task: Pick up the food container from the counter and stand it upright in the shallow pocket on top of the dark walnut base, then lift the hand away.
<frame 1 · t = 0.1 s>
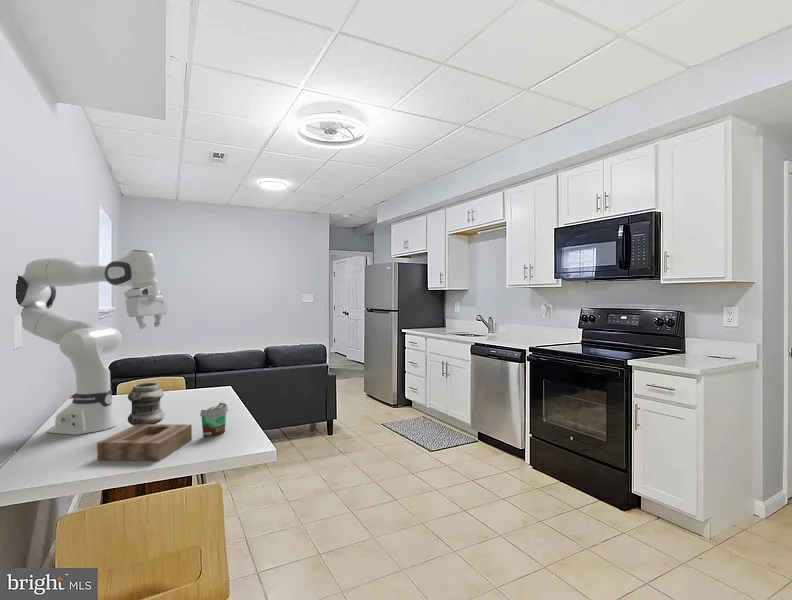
hand: (150, 327, 177), 39 cm above the table, tool pointing down, fingers open, 8 cm apart
apothecary jar: (146, 432, 173), on the table
walnut base: (147, 449, 153), on the table
food container: (218, 433, 170), on the table
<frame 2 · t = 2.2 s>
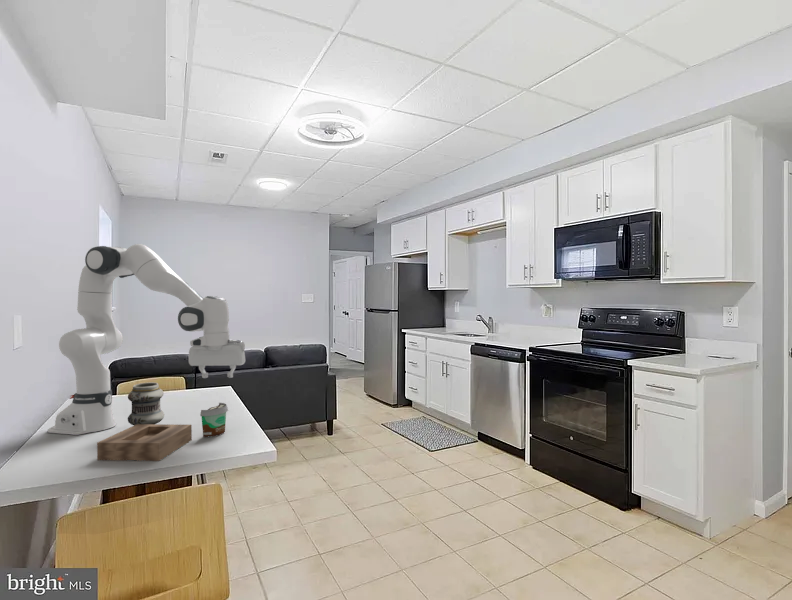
hand: (217, 377, 170), 21 cm above the table, tool pointing down, fingers open, 8 cm apart
nothing on the table moved.
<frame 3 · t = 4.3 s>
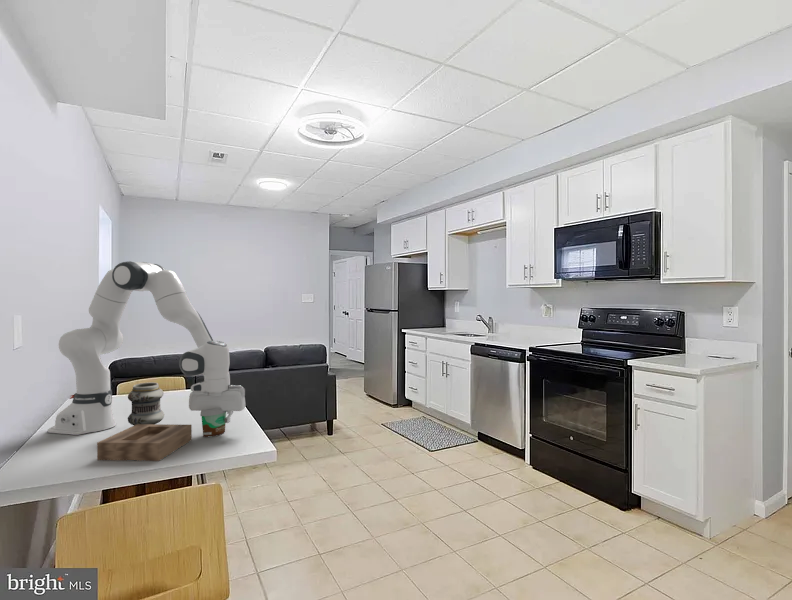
hand: (217, 422, 170), 4 cm above the table, tool pointing down, fingers open, 6 cm apart
food container: (218, 433, 170), on the table, touching gripper
everything else where it was.
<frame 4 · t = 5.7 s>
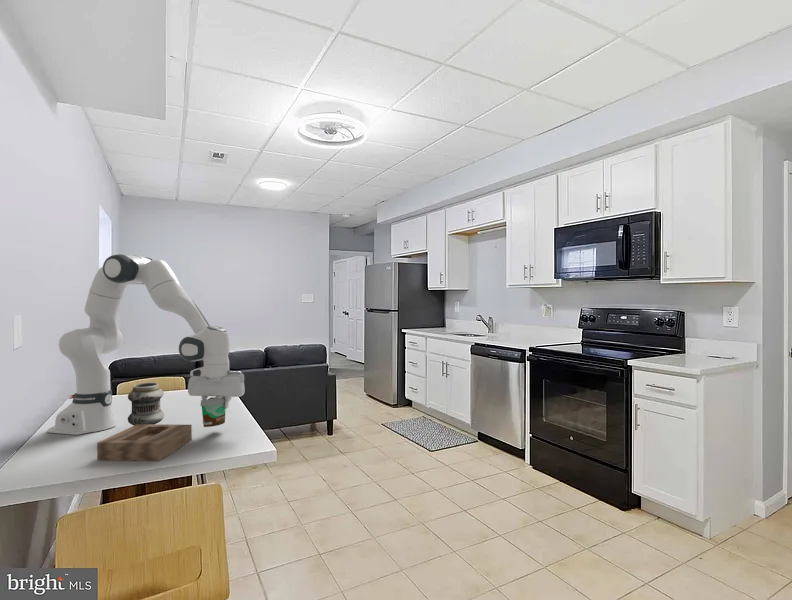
hand: (216, 408, 170), 9 cm above the table, tool pointing down, fingers closed on food container, 5 cm apart
food container: (218, 424, 170), point 3 cm above the table, touching gripper
everything else where it was.
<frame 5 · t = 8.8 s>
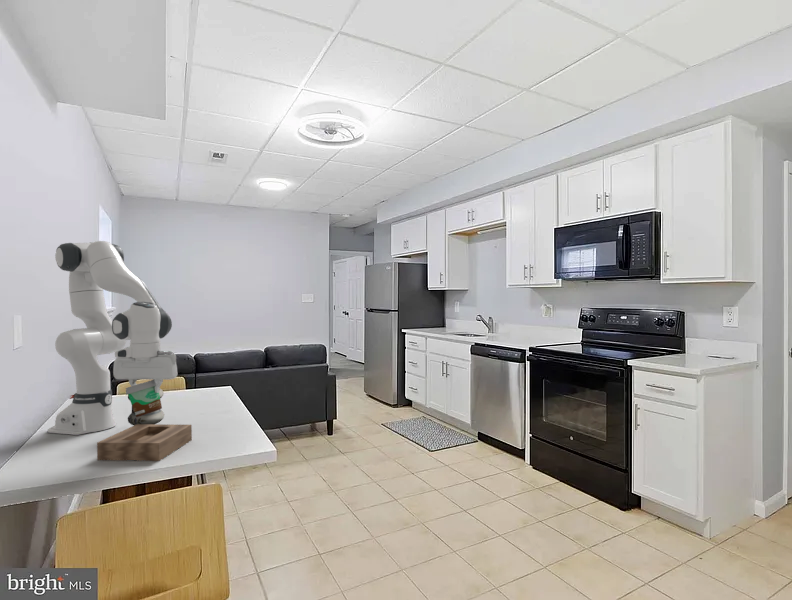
hand: (146, 392, 153), 19 cm above the table, tool pointing down, fingers closed on food container, 5 cm apart
food container: (154, 411, 153), point 13 cm above the table, touching gripper
everything else where it was.
when the fingers open (11 cm above the table, at t = 11.8 s): food container stays where it is, resting on walnut base.
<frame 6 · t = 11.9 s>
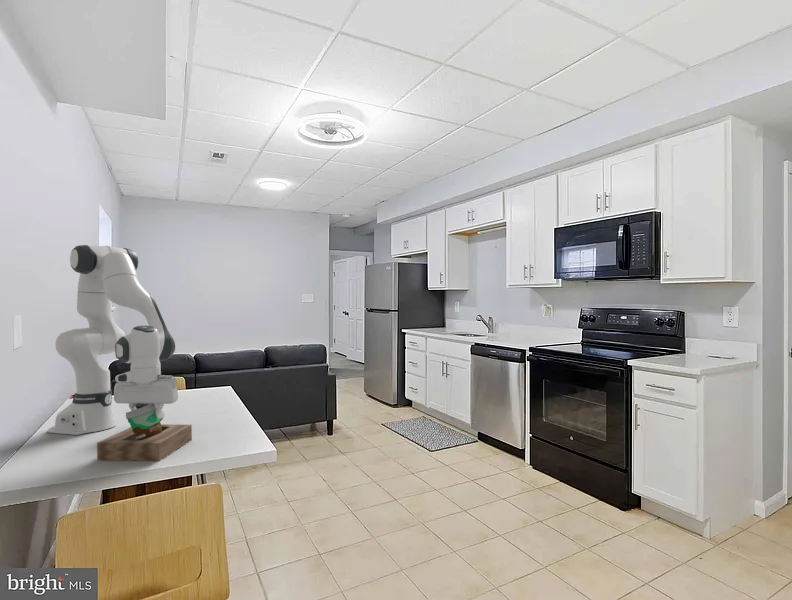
hand: (146, 416, 153), 11 cm above the table, tool pointing down, fingers open, 6 cm apart
food container: (154, 435, 153), point 5 cm above the table, touching gripper, walnut base
everything else where it was.
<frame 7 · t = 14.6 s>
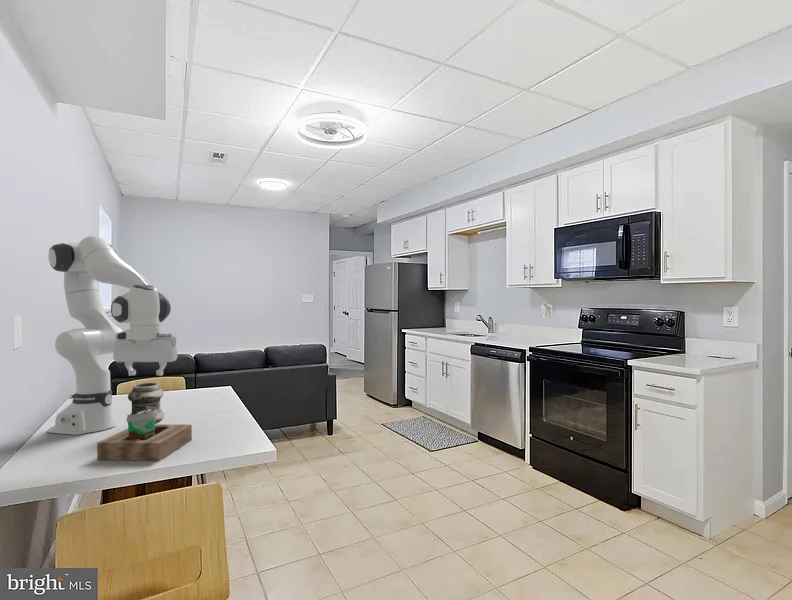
hand: (146, 375, 153), 25 cm above the table, tool pointing down, fingers open, 8 cm apart
food container: (146, 440, 154), point 3 cm above the table, touching walnut base
everything else where it was.
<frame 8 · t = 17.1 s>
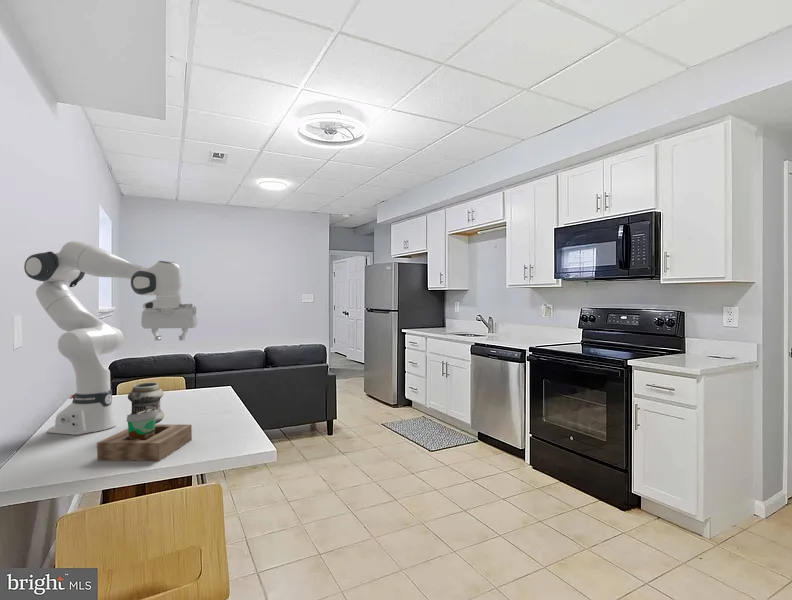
hand: (170, 340, 175), 34 cm above the table, tool pointing down, fingers open, 8 cm apart
nothing on the table moved.
at the end: walnut base 0.0 cm off-centre on the walnut base, point 0.0 cm above the walnut base's base; food container 0.4 cm off-centre on the walnut base, point 2.8 cm above the walnut base's base; food container tilted 0° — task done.
